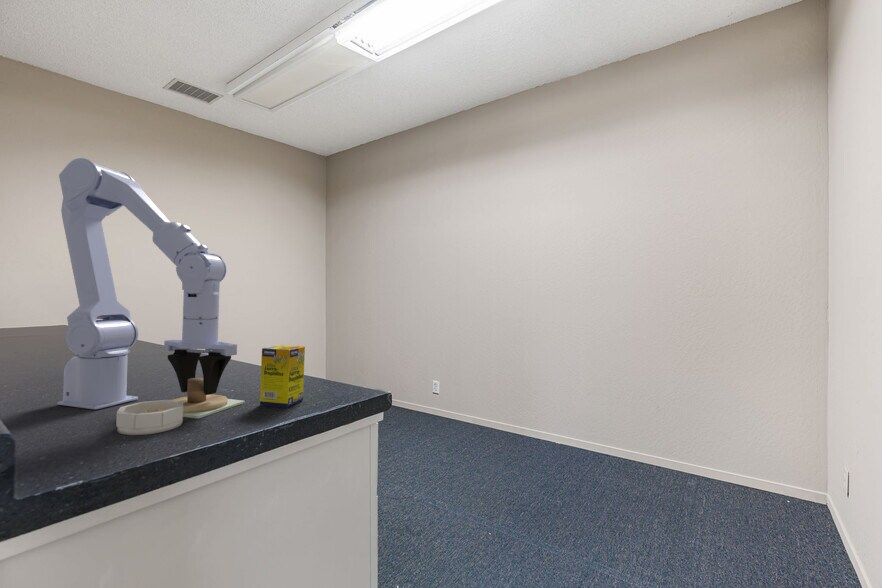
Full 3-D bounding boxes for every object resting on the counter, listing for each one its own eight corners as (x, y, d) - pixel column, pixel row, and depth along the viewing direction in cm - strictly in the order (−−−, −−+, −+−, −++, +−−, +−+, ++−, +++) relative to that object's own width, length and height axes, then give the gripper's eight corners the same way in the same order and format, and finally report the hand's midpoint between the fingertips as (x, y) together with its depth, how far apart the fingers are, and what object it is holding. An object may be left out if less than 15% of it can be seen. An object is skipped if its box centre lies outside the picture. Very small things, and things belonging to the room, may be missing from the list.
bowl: (103, 431, 63) (104, 411, 63) (154, 416, 71) (155, 398, 71) (147, 437, 61) (147, 417, 61) (195, 421, 69) (195, 403, 69)
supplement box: (287, 408, 78) (289, 349, 78) (258, 405, 79) (260, 347, 79) (304, 400, 84) (305, 345, 84) (277, 398, 85) (278, 344, 85)
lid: (149, 410, 73) (150, 382, 73) (195, 396, 83) (196, 372, 83) (197, 415, 71) (198, 386, 71) (239, 401, 80) (239, 375, 80)
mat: (146, 411, 73) (147, 409, 73) (198, 397, 84) (198, 395, 84) (198, 418, 70) (198, 416, 70) (244, 402, 81) (245, 400, 81)
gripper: (149, 317, 75) (147, 393, 75) (216, 321, 71) (214, 401, 71) (183, 316, 82) (181, 385, 82) (246, 319, 78) (243, 392, 78)
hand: (198, 392), depth 77 cm, fingers open, 5 cm apart
